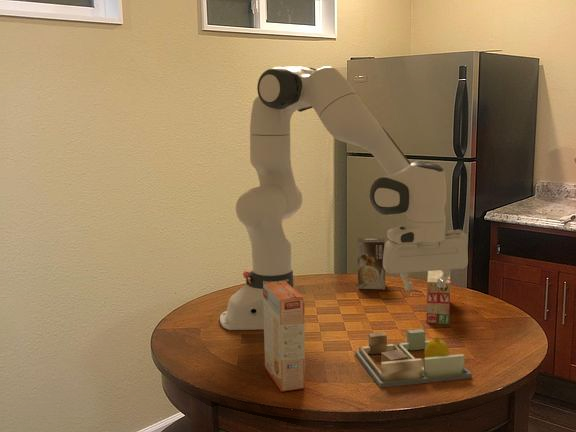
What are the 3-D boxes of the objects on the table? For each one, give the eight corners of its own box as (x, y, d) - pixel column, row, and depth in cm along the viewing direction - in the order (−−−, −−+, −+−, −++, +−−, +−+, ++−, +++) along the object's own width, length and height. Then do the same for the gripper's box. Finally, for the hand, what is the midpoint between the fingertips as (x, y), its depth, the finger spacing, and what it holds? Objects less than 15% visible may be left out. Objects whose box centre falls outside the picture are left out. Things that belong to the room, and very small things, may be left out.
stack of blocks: (427, 300, 197) (427, 261, 195) (447, 301, 195) (448, 262, 193) (426, 323, 176) (427, 281, 174) (449, 324, 175) (450, 282, 173)
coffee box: (385, 284, 214) (385, 237, 211) (385, 289, 208) (385, 242, 205) (358, 283, 215) (358, 237, 213) (357, 289, 209) (357, 241, 206)
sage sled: (425, 378, 141) (425, 359, 140) (397, 348, 158) (397, 331, 158) (463, 374, 143) (464, 355, 142) (431, 345, 160) (431, 328, 159)
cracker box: (307, 389, 138) (305, 296, 134) (280, 393, 136) (278, 299, 132) (288, 364, 151) (286, 279, 147) (264, 367, 149) (261, 282, 145)
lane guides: (380, 387, 138) (380, 383, 137) (355, 354, 156) (355, 350, 155) (471, 377, 141) (471, 373, 141) (437, 346, 159) (437, 343, 159)
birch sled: (382, 383, 139) (382, 363, 138) (358, 352, 157) (358, 334, 156) (422, 379, 141) (422, 359, 140) (393, 348, 158) (394, 331, 157)
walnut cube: (390, 378, 142) (390, 359, 141) (381, 371, 146) (381, 352, 145) (408, 375, 144) (408, 356, 143) (398, 367, 148) (398, 349, 147)
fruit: (452, 373, 144) (453, 339, 143) (429, 375, 143) (430, 341, 142) (443, 363, 149) (443, 331, 148) (420, 365, 148) (421, 333, 147)
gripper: (461, 226, 153) (459, 281, 155) (380, 231, 149) (380, 287, 152) (473, 231, 147) (471, 288, 149) (389, 236, 143) (389, 295, 146)
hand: (425, 288), depth 150 cm, fingers open, 7 cm apart
